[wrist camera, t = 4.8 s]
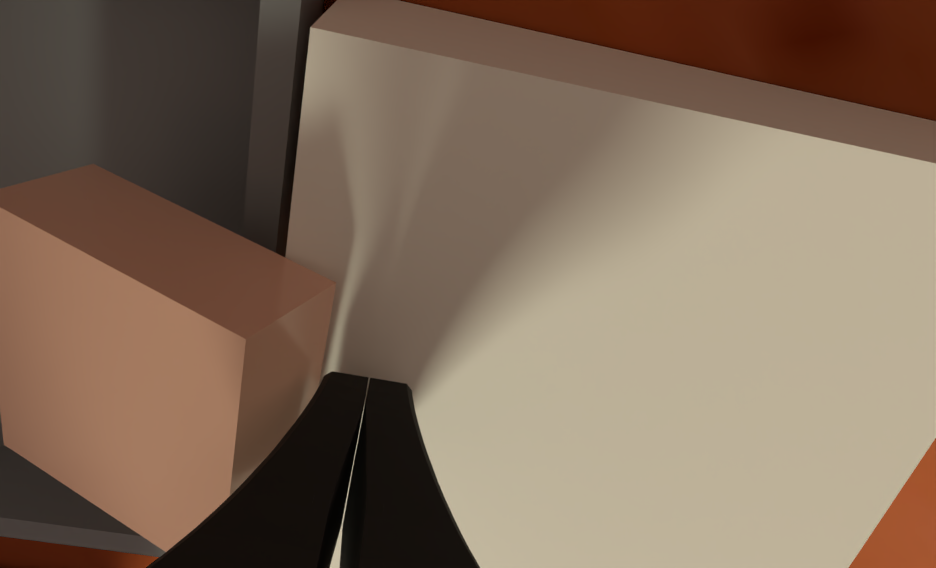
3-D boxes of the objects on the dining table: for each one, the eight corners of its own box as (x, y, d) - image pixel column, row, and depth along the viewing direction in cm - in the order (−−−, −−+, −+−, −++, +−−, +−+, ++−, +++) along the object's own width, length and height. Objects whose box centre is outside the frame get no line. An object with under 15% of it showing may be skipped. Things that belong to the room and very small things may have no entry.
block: (97, 390, 15) (3, 444, 13) (92, 163, 12) (-24, 195, 11) (297, 510, 13) (220, 587, 12) (336, 282, 11) (245, 339, 9)
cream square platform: (285, 475, 19) (247, 609, 15) (348, -12, 13) (309, 27, 10) (720, 538, 20) (776, 675, 17) (942, 122, 15) (1097, 198, 11)
